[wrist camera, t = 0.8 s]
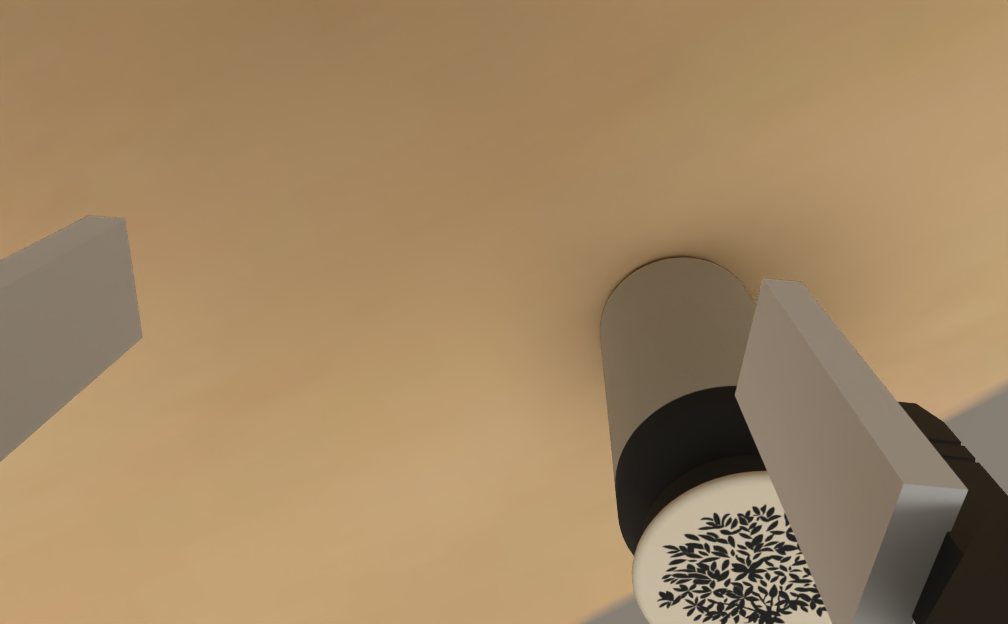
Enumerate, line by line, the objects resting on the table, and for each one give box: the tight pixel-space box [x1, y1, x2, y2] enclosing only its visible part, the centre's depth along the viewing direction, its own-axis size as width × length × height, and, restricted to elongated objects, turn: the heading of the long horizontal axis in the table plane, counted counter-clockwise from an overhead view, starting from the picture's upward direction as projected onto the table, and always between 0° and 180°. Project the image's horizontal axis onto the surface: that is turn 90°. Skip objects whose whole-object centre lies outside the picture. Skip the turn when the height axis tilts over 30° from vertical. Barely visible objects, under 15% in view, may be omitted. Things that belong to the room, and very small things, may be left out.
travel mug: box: [600, 257, 832, 624], centre depth 30 cm, size 8×8×18 cm
